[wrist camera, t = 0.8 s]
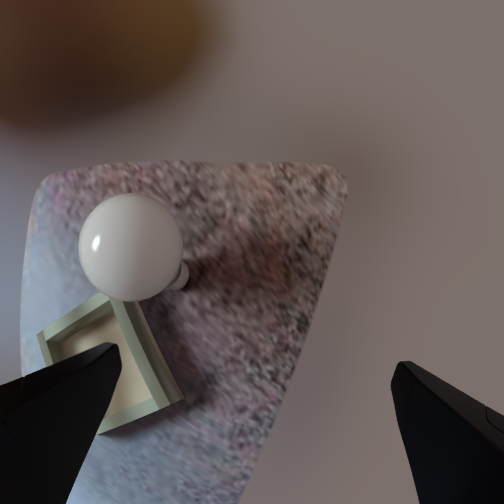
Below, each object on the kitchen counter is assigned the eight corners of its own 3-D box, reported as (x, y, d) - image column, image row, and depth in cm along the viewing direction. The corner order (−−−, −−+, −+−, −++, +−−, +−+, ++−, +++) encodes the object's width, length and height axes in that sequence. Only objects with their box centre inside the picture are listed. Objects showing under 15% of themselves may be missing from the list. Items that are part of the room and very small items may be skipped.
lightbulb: (213, 315, 23) (150, 292, 13) (139, 313, 24) (49, 289, 14) (215, 237, 25) (164, 165, 15) (145, 241, 26) (69, 181, 16)
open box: (97, 434, 21) (77, 441, 18) (57, 337, 24) (36, 334, 22) (184, 398, 22) (170, 404, 19) (132, 289, 25) (114, 282, 22)
